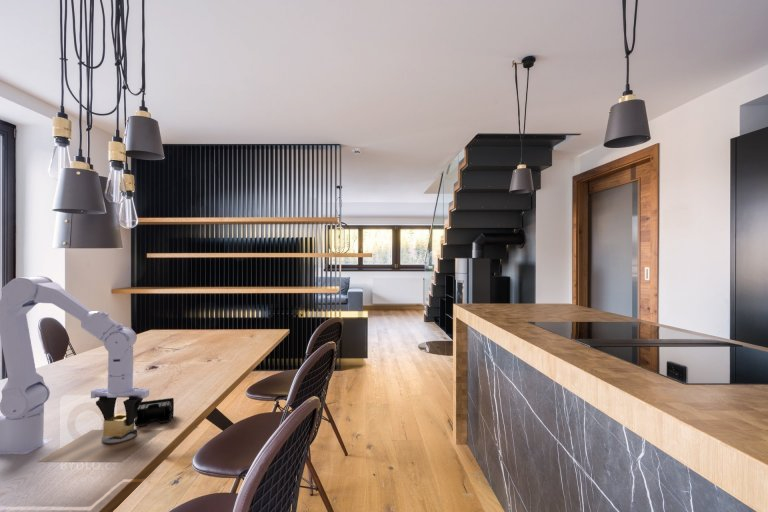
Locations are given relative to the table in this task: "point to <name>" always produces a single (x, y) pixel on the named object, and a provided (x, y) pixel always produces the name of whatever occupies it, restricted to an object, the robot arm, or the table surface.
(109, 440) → the stand
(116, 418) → the collar
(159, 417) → the end cap
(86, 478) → the table surface
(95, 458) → the board
